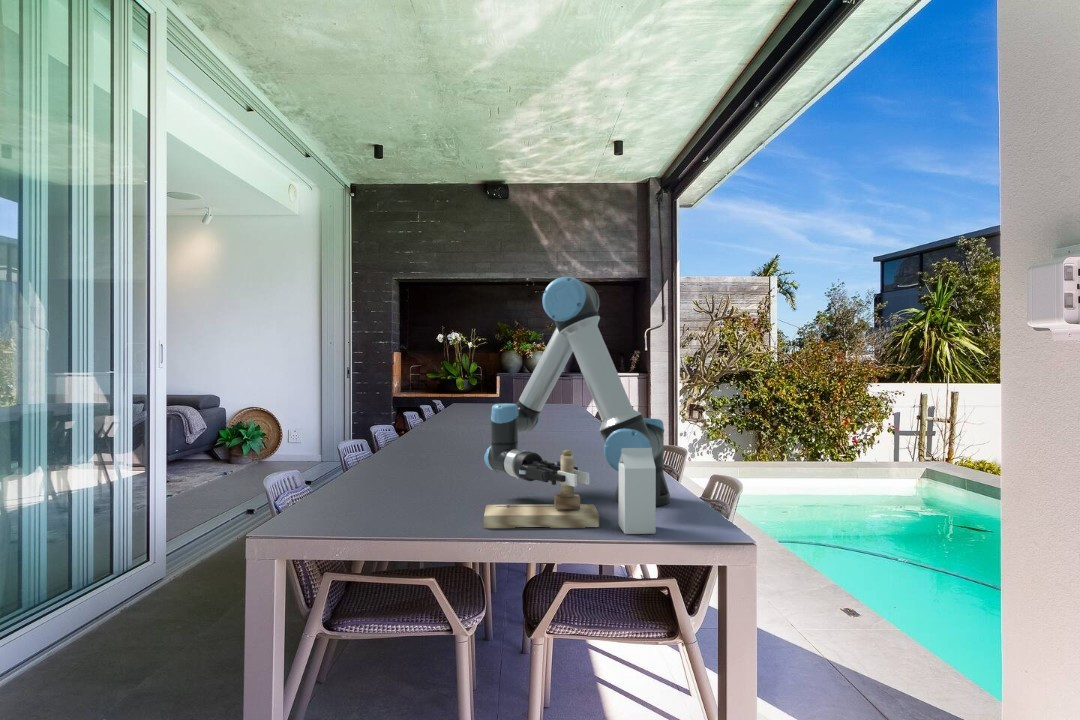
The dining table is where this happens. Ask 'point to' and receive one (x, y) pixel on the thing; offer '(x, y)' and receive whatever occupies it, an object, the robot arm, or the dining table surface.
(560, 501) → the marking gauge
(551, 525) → the oak plank
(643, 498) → the milk carton
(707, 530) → the dining table surface
